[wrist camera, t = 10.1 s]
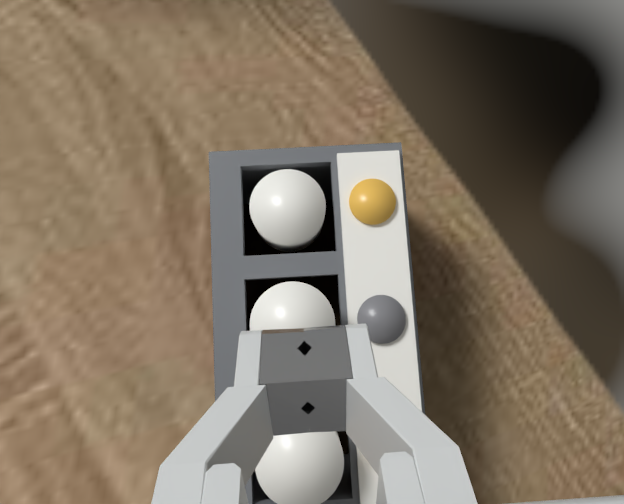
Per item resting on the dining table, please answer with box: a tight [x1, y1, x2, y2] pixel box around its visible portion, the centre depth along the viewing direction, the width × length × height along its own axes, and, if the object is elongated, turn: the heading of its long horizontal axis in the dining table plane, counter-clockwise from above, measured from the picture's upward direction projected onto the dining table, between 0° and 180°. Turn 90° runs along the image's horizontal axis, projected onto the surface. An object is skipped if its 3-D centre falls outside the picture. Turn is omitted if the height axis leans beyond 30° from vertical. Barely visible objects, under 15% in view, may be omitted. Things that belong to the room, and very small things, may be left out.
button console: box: [209, 143, 425, 504], centre depth 26 cm, size 17×9×8 cm, turn 3°
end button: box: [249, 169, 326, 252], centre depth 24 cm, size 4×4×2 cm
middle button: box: [250, 281, 335, 331], centre depth 21 cm, size 4×4×2 cm
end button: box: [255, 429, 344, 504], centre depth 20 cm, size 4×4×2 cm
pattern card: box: [337, 150, 422, 504], centre depth 22 cm, size 16×3×1 cm, turn 3°
